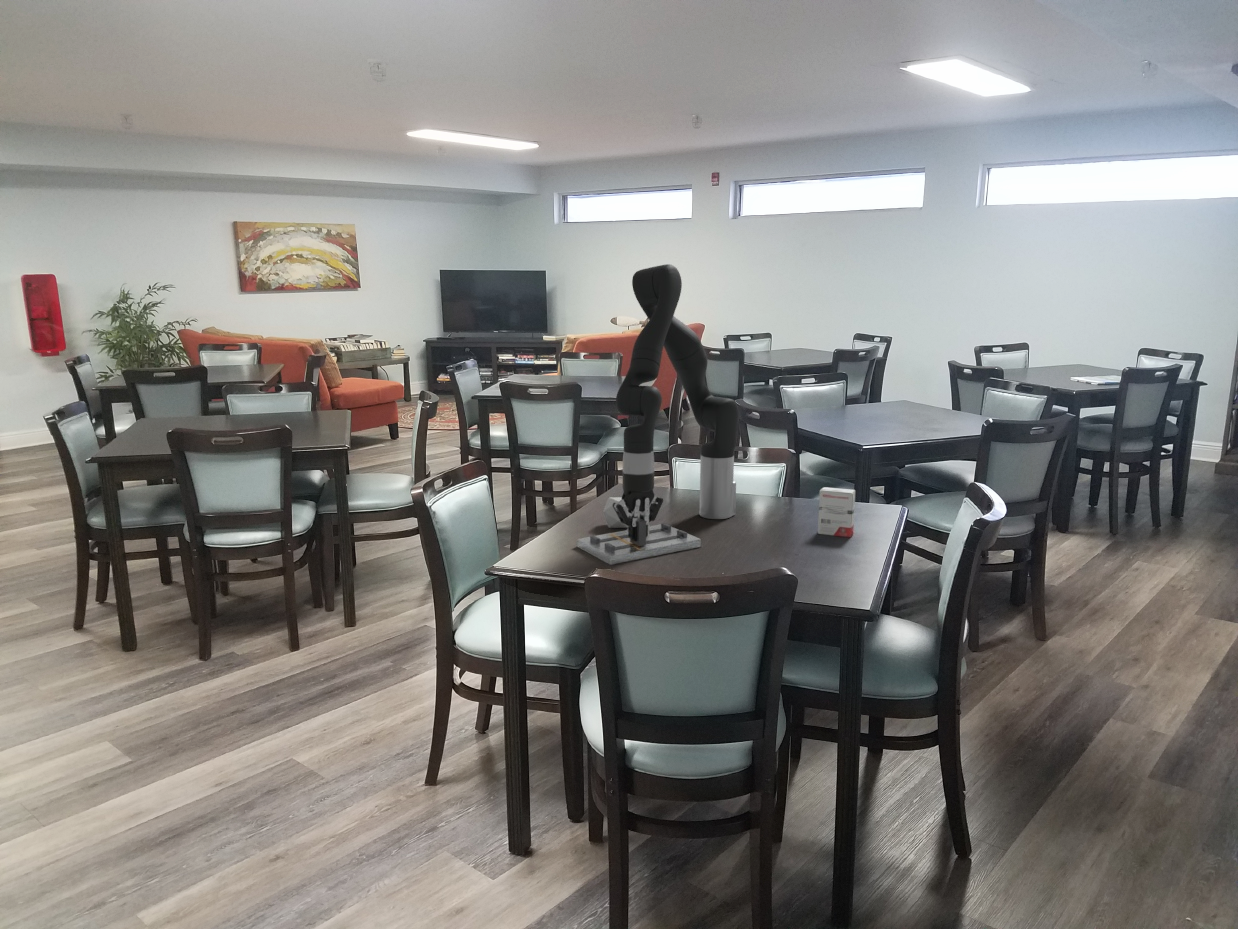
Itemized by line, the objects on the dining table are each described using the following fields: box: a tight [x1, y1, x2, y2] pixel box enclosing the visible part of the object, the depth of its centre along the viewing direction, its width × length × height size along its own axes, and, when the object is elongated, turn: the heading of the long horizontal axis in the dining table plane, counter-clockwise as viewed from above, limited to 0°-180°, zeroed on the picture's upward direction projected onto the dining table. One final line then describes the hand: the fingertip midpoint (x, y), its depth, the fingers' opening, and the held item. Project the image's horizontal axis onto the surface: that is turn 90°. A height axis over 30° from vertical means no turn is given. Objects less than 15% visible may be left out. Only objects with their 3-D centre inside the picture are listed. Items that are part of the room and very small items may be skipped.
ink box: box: [817, 486, 856, 538], centre depth 218 cm, size 9×5×12 cm, turn 65°
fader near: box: [630, 517, 646, 546], centre depth 203 cm, size 2×4×6 cm, turn 31°
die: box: [602, 496, 628, 529], centre depth 225 cm, size 8×9×10 cm
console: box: [576, 522, 702, 566], centre depth 208 cm, size 26×16×3 cm, turn 121°
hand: (637, 539), depth 203 cm, fingers closed on fader near, 2 cm apart
